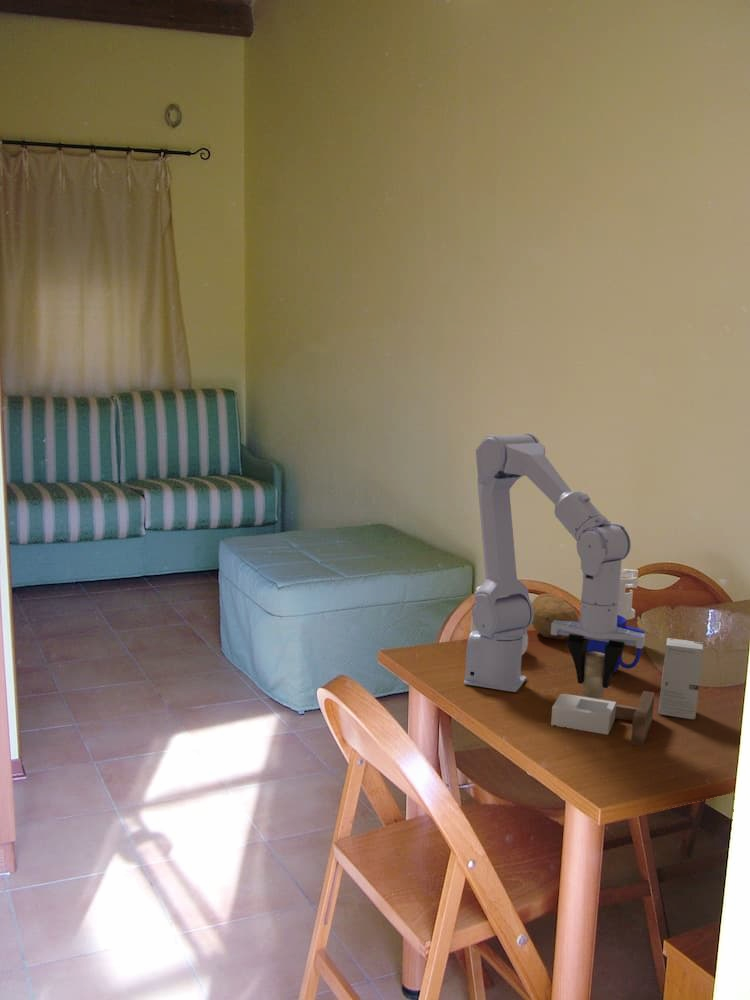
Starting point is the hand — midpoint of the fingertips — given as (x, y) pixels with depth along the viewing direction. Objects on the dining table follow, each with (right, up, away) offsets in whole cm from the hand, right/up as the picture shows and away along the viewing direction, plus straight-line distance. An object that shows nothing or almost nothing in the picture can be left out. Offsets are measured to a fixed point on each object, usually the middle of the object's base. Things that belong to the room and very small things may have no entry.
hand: (593, 683), depth 167 cm
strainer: (+14, 0, +46) cm, 48 cm away
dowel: (0, -2, 0) cm, 2 cm away
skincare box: (+15, -6, +7) cm, 18 cm away
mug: (+8, -3, +26) cm, 28 cm away
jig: (+1, -7, +1) cm, 7 cm away
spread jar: (-11, 0, +38) cm, 39 cm away
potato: (+2, +1, +47) cm, 47 cm away
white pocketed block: (-1, -6, +2) cm, 7 cm away
